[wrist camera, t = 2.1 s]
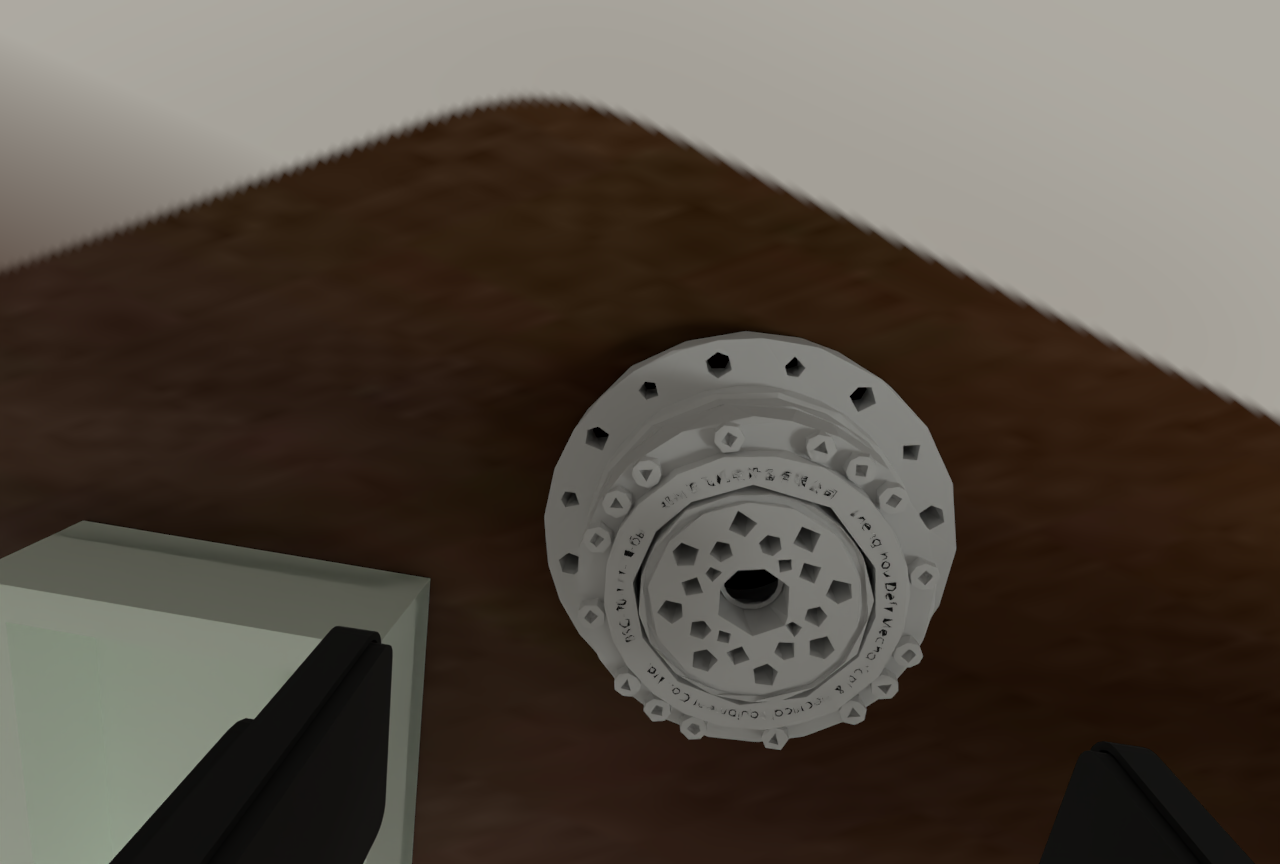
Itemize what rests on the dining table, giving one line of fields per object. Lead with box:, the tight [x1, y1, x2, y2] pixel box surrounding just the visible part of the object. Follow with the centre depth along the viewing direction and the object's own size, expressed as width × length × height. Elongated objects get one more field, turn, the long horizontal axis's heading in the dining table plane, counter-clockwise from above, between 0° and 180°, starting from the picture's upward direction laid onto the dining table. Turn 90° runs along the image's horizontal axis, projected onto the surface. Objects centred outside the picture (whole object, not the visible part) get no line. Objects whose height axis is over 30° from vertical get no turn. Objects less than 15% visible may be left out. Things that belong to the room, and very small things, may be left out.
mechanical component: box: [544, 331, 956, 750], centre depth 17 cm, size 10×4×10 cm
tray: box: [0, 521, 431, 864], centre depth 21 cm, size 10×16×4 cm, turn 172°
